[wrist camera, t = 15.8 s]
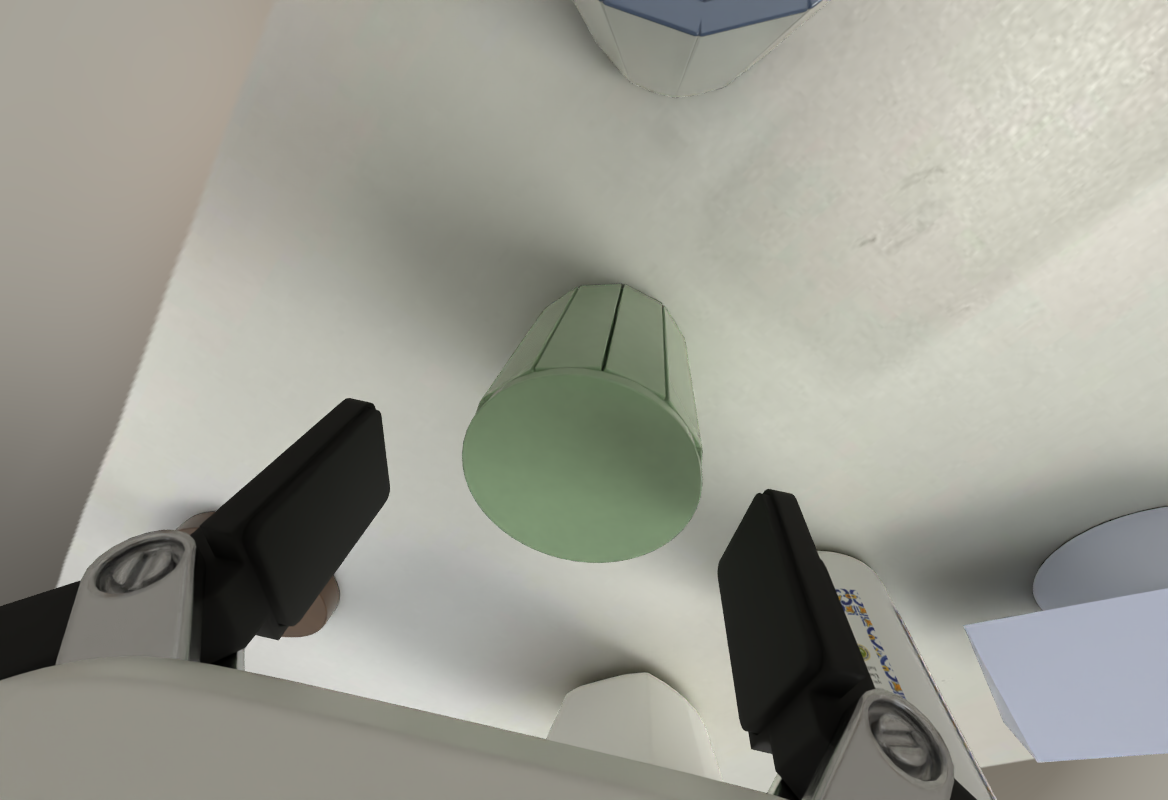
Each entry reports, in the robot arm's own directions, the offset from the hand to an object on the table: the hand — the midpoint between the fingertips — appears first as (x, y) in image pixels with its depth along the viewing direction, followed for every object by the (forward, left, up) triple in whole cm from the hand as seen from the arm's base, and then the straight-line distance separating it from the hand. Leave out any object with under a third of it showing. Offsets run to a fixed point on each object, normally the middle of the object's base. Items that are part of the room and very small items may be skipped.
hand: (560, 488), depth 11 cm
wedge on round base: (+24, +14, -9) cm, 29 cm away
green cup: (+1, 0, -9) cm, 9 cm away
